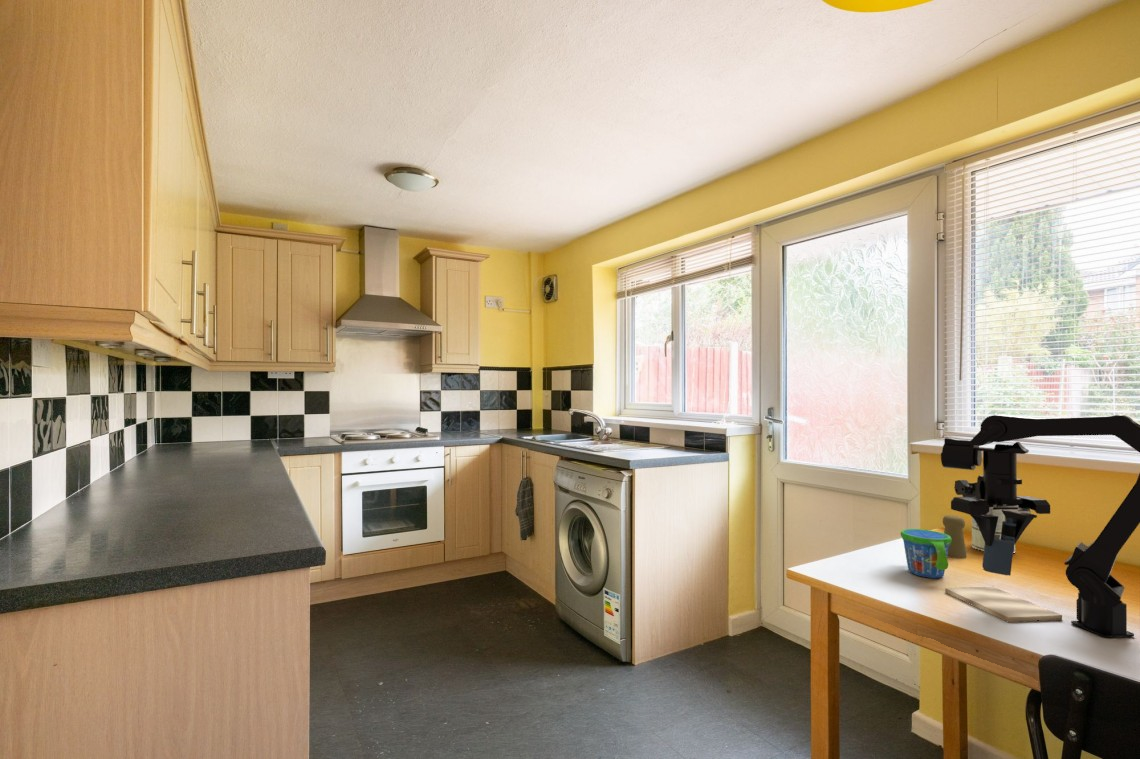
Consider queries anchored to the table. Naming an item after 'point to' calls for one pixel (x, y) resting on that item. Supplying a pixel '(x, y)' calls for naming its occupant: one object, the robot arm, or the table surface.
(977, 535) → the coffee can
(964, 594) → the birch board
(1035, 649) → the table surface
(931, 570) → the blue plastic tapered tub
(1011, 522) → the vaping device
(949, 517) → the cork
